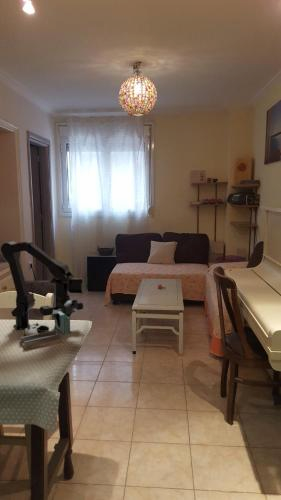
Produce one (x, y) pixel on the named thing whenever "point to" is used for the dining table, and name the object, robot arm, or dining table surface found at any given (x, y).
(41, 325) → the gaming controller
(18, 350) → the dining table surface
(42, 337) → the track
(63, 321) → the door panel
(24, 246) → the robot arm
